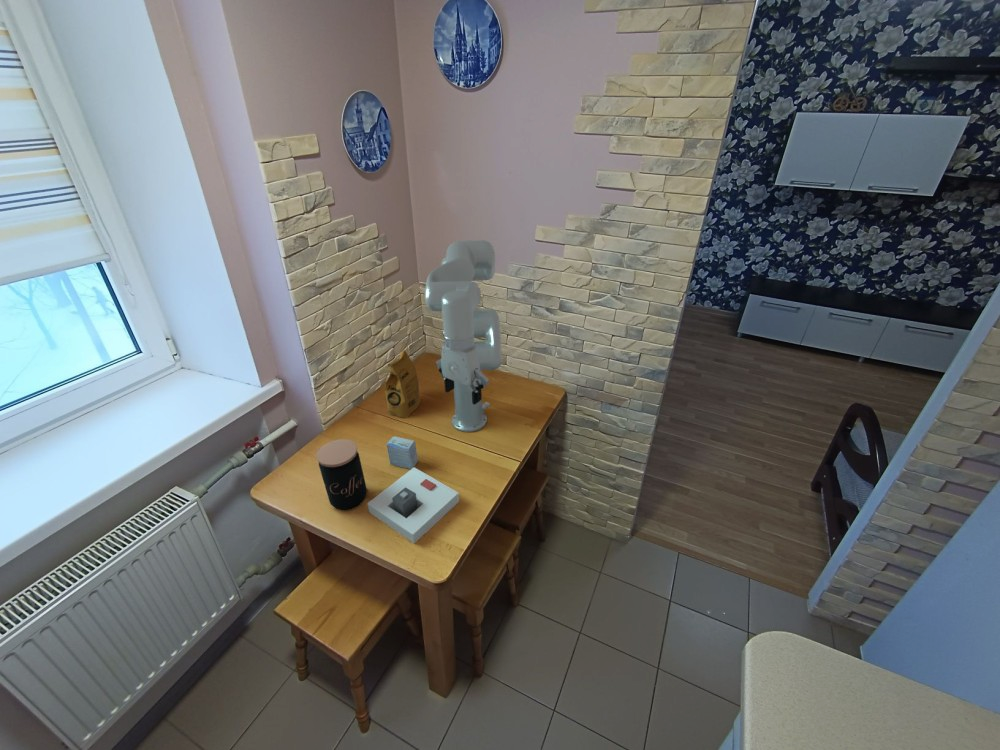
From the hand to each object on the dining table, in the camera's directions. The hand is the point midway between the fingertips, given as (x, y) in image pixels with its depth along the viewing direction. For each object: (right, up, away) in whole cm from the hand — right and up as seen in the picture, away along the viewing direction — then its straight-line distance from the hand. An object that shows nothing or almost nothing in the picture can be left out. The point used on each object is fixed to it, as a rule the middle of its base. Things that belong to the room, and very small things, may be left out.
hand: (463, 396), depth 125 cm
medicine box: (-21, -23, +22) cm, 38 cm away
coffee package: (-26, -7, +48) cm, 55 cm away
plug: (-16, -33, +4) cm, 37 cm away
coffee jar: (-34, -31, +9) cm, 47 cm away
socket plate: (-14, -32, +6) cm, 36 cm away
